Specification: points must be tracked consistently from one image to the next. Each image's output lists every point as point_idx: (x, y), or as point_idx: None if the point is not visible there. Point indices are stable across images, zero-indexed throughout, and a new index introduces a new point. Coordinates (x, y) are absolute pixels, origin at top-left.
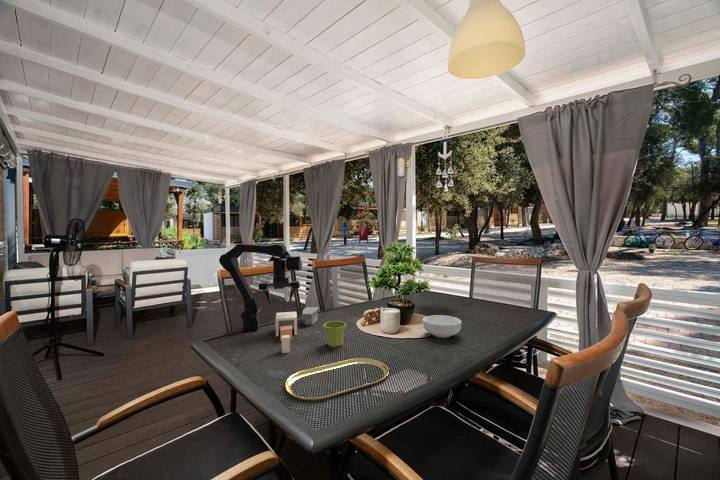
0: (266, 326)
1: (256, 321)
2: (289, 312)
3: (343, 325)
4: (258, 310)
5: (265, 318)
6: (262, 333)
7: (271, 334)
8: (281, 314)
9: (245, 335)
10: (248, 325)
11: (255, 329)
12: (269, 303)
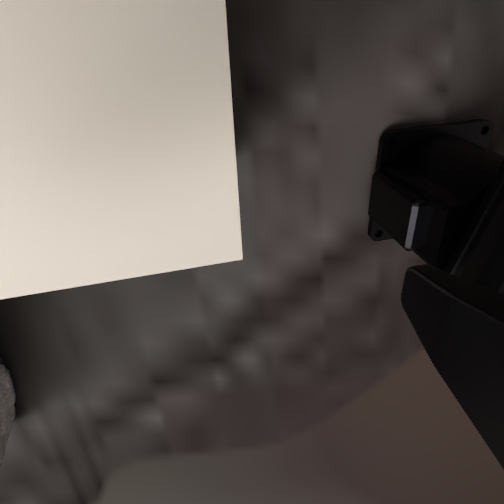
0: (304, 252)
1: (425, 190)
2: (45, 270)
3: None
4: (499, 227)
5: (318, 402)
6: (331, 63)
7: (241, 10)
8: (151, 168)
9: (475, 26)
10: (479, 146)
11: (393, 155)
12: (430, 266)
